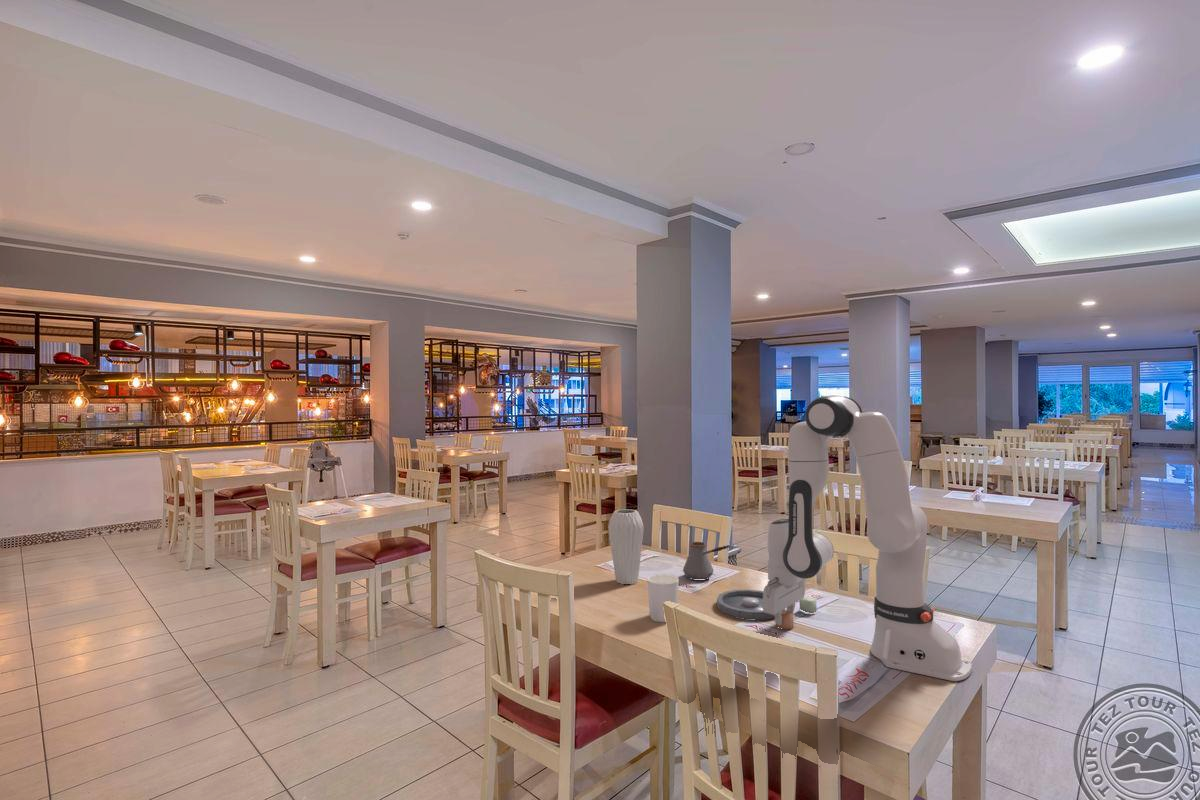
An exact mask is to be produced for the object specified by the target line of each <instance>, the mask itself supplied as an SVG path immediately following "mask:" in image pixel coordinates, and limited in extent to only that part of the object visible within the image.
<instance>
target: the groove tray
mask: <svg viewBox="0 0 1200 800" xmlns="http://www.w3.org/2000/svg"><path fill="white" fill-rule="evenodd" d="M763 591H764V590H759V589H758V590H757V589H756V590H755V589H748V588H747V589H732V590H727V591H724V592H722V593H719V594H718V595H717V598H716V605H717V609H718V611H720V612H721V613H723V614H724V615H726V614H727V615H726V616H729V615H730V616H729V617H732V616H733V617H732V618H735V617H738V618H737V619H739V618H744V619H743V620H745V619H755V620H754V621H770V620H775V617H774V615H771V614H768V613H765V612H764V611H763V608H762V604H763ZM784 610H786V608H785V609H784Z"/></svg>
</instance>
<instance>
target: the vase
mask: <svg viewBox="0 0 1200 800" xmlns="http://www.w3.org/2000/svg"><path fill="white" fill-rule="evenodd" d="M607 529H608V535H609V542H610V550H611V554H612V555H611V556H612V563H613V571H614V577H615V582H616V581H617V582H618V583H621V584H622V585H623V584H631V585H635V584H634V583H636V582H637V583H639V576H640V575H639V573H640V565H641V556H642V555H641V554H642V548H643V547H642V546H643V539H644V538H643V536H644V523H643V519H642V517H641V514H640V512H639V511H638V510H635V509H625V508H624V509H617V510H614V511H613V513H612V514H611V516H610V518H609V522H608V526H607ZM617 582H616V583H617ZM618 583H617V584H618ZM637 583H636V584H637ZM621 584H620V585H621Z"/></svg>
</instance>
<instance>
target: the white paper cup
mask: <svg viewBox="0 0 1200 800" xmlns="http://www.w3.org/2000/svg"><path fill="white" fill-rule="evenodd" d="M679 580H680V578H679V577H677V576H675V575H672V574H666V573H665V574H664V573H661V574H660V573H659V574H653V575H649V576H648V577H647V579H646V581H647V591H648V592H647V595H648V606H649V607H648V608H649V616H650V619H651V620H652V621H654V622H657V621H658V622H657V623H666V622H665V619H664V610H663V602H665V601H671V602H674V603H677V604H679V585H680V584H679V582H680V581H679Z"/></svg>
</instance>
